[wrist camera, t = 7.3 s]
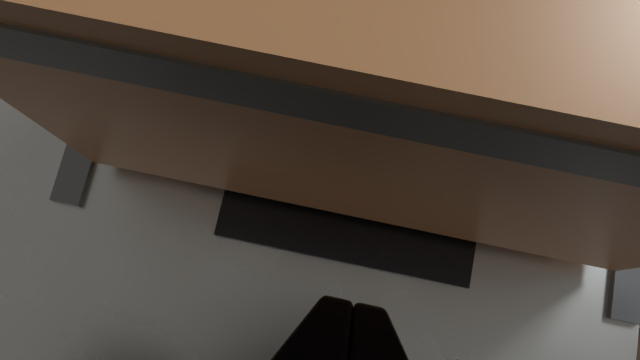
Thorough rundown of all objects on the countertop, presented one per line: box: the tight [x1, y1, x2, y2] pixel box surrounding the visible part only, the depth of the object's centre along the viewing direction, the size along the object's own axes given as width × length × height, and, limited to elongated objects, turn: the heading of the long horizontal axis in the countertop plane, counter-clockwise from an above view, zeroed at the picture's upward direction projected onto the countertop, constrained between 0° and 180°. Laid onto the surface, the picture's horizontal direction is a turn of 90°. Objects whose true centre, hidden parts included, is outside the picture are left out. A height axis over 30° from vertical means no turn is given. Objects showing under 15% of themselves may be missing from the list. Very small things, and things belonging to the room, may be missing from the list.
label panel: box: [0, 98, 640, 360], centre depth 15 cm, size 14×30×1 cm, turn 78°
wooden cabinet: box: [0, 0, 640, 271], centre depth 10 cm, size 4×12×8 cm, turn 78°
